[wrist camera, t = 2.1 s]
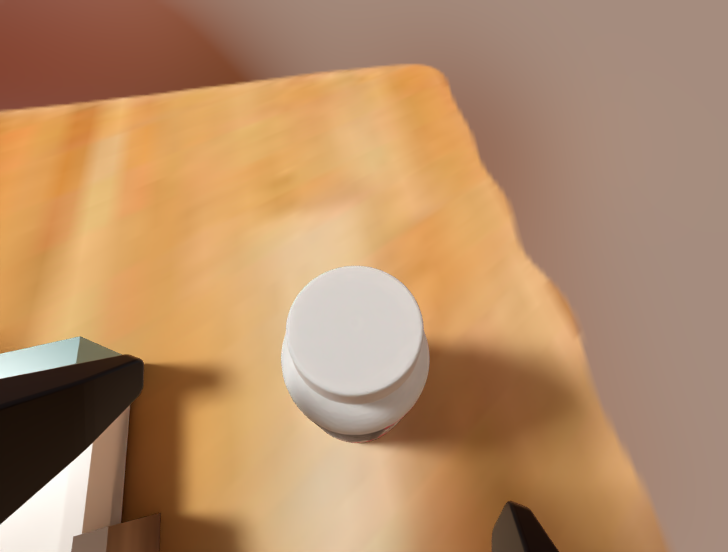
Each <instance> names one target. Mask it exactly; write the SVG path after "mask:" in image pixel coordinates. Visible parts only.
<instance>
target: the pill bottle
mask: <svg viewBox="0 0 728 552" xmlns="http://www.w3.org/2000/svg"><path fill="white" fill-rule="evenodd" d="M429 360H430V356H429V347H428V342H427V338H426V335H425V332H424V327H423V319H422V314H421V311H420V309H419V306H418V304H417V302H416V300H415V298H414V297H413V295H412V294H411V292H410V291H409V290H408V289H407V287H406V286H405V285H404V284H403V283H401V282H400V281H399V280H398V279H396V278H395V277H393V276H391V275H390V274H388V273H386V272H383V271H381V270H378V269H375V268H372V267H365V266H346V267H340V268H336V269H333V270H330V271H327V272H325V273H323V274H321V275H319V276H318V277H316V278H314V279H313V280H312V281H310V282H309V283H308V284H307V285H306V286H305V287H304V288H303V289H302V290H301V292H300V293H299V294H298V296H297V297H296V299H295V301H294V302H293V304H292V306H291V308H290V311H289V314H288V318H287V324H286V334H285V337H284V341H283V345H282V353H281V364H282V372H283V377H284V381H285V384H286V387H287V389H288V391H289V394H290V396H291V397H292V399H293V401H294V402H295V404H296V405H297V407H298V408H299V409H300V410H301V411H302V412H303V413H304V414H305V415H306V416H307V417H308V418H309V419H310V420H311V421H313V422H314V423H315V424H316V425H318V426H319V427H320V428H321V429H323V430H324V431H325V432H326V433H327V434H329V435H331V436H332V437H335V438H337V439H339V440H342V441H346V442H351V443H363V442H369V441H372V440H375V439H377V438H379V437H381V436H383V435H384V434H386V433H387V432H389V431H390V430H391V429H392V428H393V427H394V426H395V425H396V424H398V422H399V421H400V420H401V419H402V418H403V417H404V416H405V415H406V414H407V413H408V411H409V410H411V408H412V407H413V406H414V404H415V403H416V402H417V400H418V398H419V396H420V395H421V393H422V391H423V388H424V386H425V383H426V380H427V376H428V372H429Z"/></svg>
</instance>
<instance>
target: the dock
mask: <svg viewBox="0 0 728 552" xmlns="http://www.w3.org/2000/svg"><path fill="white" fill-rule="evenodd" d="M159 544H160V513H158V514H154V515H151V516H147V517H143V518H139V519H135V520H132V521H128V522H124V523H120V524H116V525H112V526H109V527H105V528H101V529H98V530H94V531H91V532H87V533H84V534H80V535H77V536H73V542H72V549H71V552H159Z"/></svg>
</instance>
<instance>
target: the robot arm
mask: <svg viewBox="0 0 728 552" xmlns="http://www.w3.org/2000/svg"><path fill="white" fill-rule="evenodd" d="M143 382H144V362H143V360H141V359H140V358H137V357H134V356H132V355H128V354H125V355H120V356H115V357H109V358H104V359H99V360H94V361H89V362H84V363H78V364H73V365H68V366H63V367H58V368H53V369H47V370H42V371H37V372H32V373H27V374H22V375H17V376H11V377H6V378H1V379H0V525H1V524H2V523H3V522H4V521H5V520H6V519H7V518H9V517H10V516H11V515H12V514H13V513H14V512H15V511H17V510H18V509H19V508H20V507H21V506H22V505H23V504H25V503H26V502H27V501H28V500H29V499H30V498H31V497H33V496H34V495H35V494H36V493H37V492H38V491H39V490H41V489H42V488H43V487H44V486H45V485H46V484H47V483H49V482H50V481H51V480H52V479H53V478H54V477H55V476H57V475H58V474H59V473H60V472H61V471H62V470H63V469H65V468H66V467H67V466H68V465H69V464H70V463H71V462H73V461H74V460H75V459H76V458H77V457H78V456H79V455H80V454H82V453H83V452H84V451H85V450H86V449H87V448H88V447H89V446H90V445H91V444H92V443H93V442H94V441H95V440H96V439H97V438H98V437H99V436H100V435H101V434H102V433H103V432H104V431H105V430H106V429H107V428H108V427H109V426H110V425H111V424H112V423H113V422H114V421H115V420H116V419H117V418H118V417H119V416H120V415H121V414H122V413H123V412H124V411H125V409H126V408H127V407H128V406H129V405H130V404H131V403H132V402H133V401H134V400H135V399H136V398H137V397H138V396H139V395H140V393H141V391H142V389H143ZM492 552H559V551H558V549H557V548H556V547H555V545H554V544H553V542H552V541H551V539H550V538H549V536H548V535H547V533H546V532H545V530H544V529H543V527H542V526H541V524H540V523H539V522H538V520H537V519H536V517H535V516H534V514H533V513H532V511H531V510H530V509H529V508H527V507H525V506H523V505H520V504H518V503H515V502H512V501H508V502H507V503H506V504H505V506H504V508H503V510H502V512H501V514H500V516H499V518H498V520H497V522H496V524H495V526H494V528H493V533H492Z"/></svg>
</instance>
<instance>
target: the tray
mask: <svg viewBox="0 0 728 552" xmlns="http://www.w3.org/2000/svg"><path fill="white" fill-rule="evenodd" d="M120 355H122V354H119V353H117V352H115V351H112V350H110V349H108V348H106V347H103V346H101V345H99V344H96V343H94V342H92V341H89V340H87V339H85V338H83V337H75V338H71V339H66V340H62V341H57V342H52V343H48V344H43V345H39V346H34V347H30V348H25V349H20V350H16V351H11V352H7V353H2V354H0V379H1V378H6V377H11V376H17V375H22V374H27V373H32V372H37V371H42V370H47V369H53V368H58V367H63V366H68V365H73V364H78V363H84V362H89V361H94V360H99V359H104V358H109V357H115V356H120ZM129 414H130V405H129V406H128V407H127V408H126V409H125V411H124V412H123V413H122V414H121V415H120V416H119V417H118V418H117V419H116V420H115V421H114V422H113V423H112V424H111V425H110V426H109V427H108V428H107V429H106V430H105V431H104V432H103V433H102V434H101V435H100V436H99V437H98V438H97V439H96V440H95V441H94V442H93V443H92V444H91V445H90V446H89V447H88V448H87V449H86V450H85V451H84V452H83V453H82V454H80V455H79V456H78V457H77V458H76V459H75V460H74V461H73V462H71V463H70V464H69V465H68V466H67V467H66V468H65V469H63V470H62V471H61V472H60V473H59V474H58V475H57V476H55V477H54V478H53V479H52V480H51V481H50V482H49V483H47V484H46V485H45V486H44V487H43V488H42V489H41V490H39V491H38V492H37V493H36V494H35V495H34V496H33V497H31V498H30V499H29V500H28V501H27V502H26V503H25V504H23V505H22V506H21V507H20V508H19V509H18V510H17V511H15V512H14V513H13V514H12V515H11V516H10V517H9V518H7V519H6V520H5V521H4V522H3V523H2V524H1V525H0V552H71V549H72V542H73V536H77V535H80V534H84V533H87V532H91V531H94V530H98V529H101V528H105V527H109V526H112V525H116V524H120V523H121V517H122V504H123V491H124V478H125V465H126V452H127V439H128V426H129Z"/></svg>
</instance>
